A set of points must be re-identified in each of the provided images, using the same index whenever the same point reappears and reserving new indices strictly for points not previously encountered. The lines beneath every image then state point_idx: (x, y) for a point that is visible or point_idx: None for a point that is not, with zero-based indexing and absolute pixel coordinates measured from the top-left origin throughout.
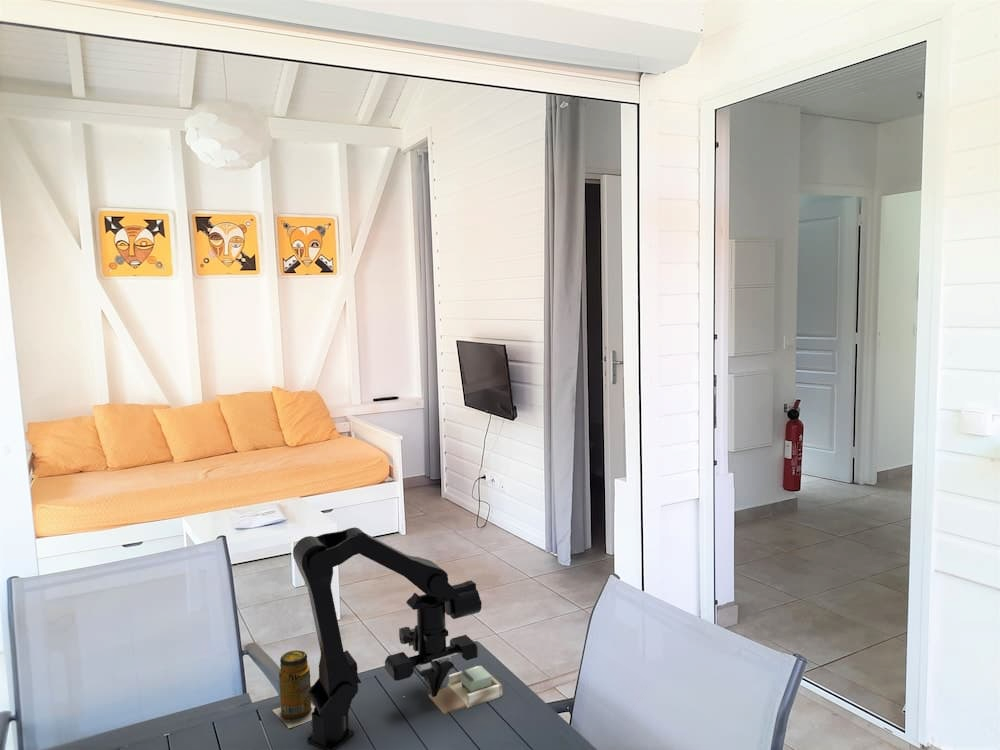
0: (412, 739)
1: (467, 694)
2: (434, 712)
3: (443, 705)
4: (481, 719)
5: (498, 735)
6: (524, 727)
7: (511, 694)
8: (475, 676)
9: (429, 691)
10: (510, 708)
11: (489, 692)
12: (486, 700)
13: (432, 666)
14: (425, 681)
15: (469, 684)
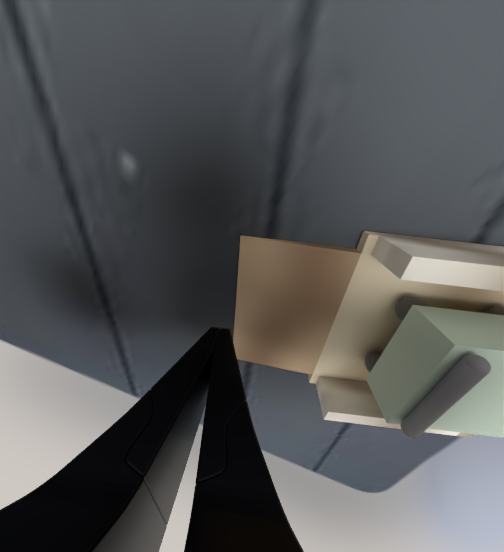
0: (114, 383)
1: (327, 412)
2: None
3: (253, 333)
4: (300, 415)
5: (289, 450)
6: (347, 459)
7: None
8: (459, 407)
9: (201, 338)
10: None
11: None
12: None
13: (190, 530)
14: (156, 383)
15: (384, 402)
